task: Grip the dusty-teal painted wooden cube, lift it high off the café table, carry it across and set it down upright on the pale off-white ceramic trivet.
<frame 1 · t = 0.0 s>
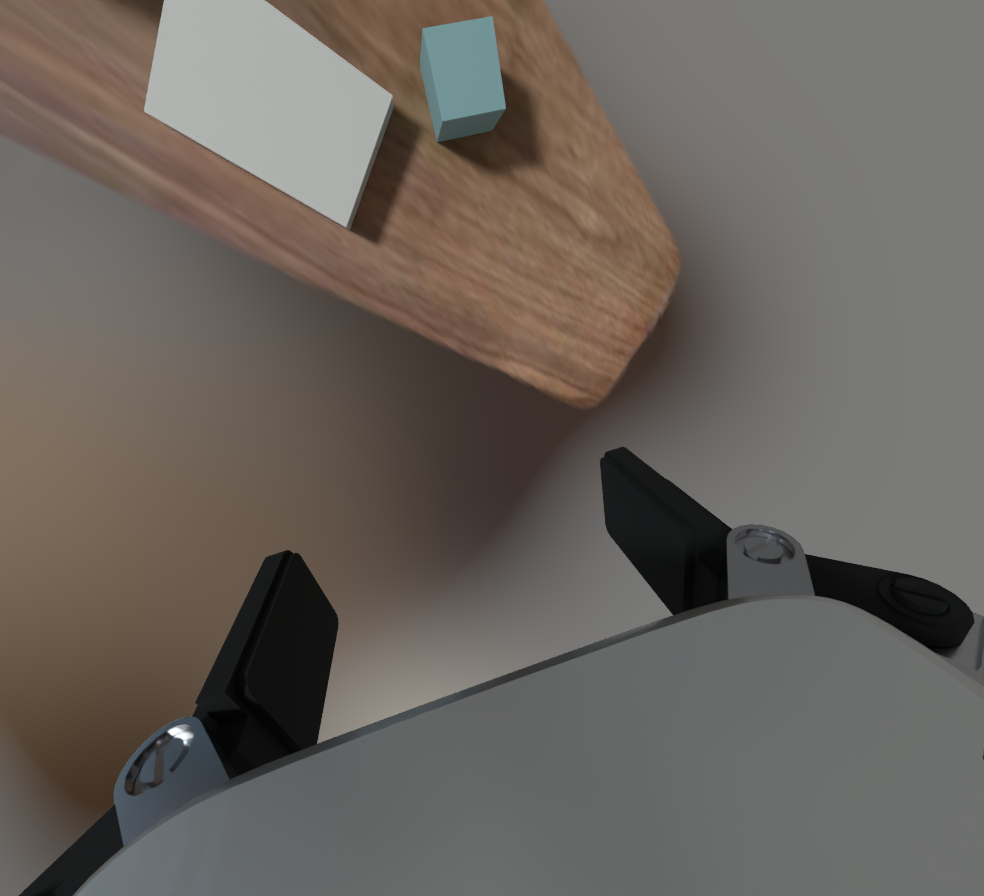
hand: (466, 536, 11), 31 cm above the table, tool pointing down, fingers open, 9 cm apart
teal cube: (457, 99, 31), on the table
trivet: (283, 116, 29), on the table
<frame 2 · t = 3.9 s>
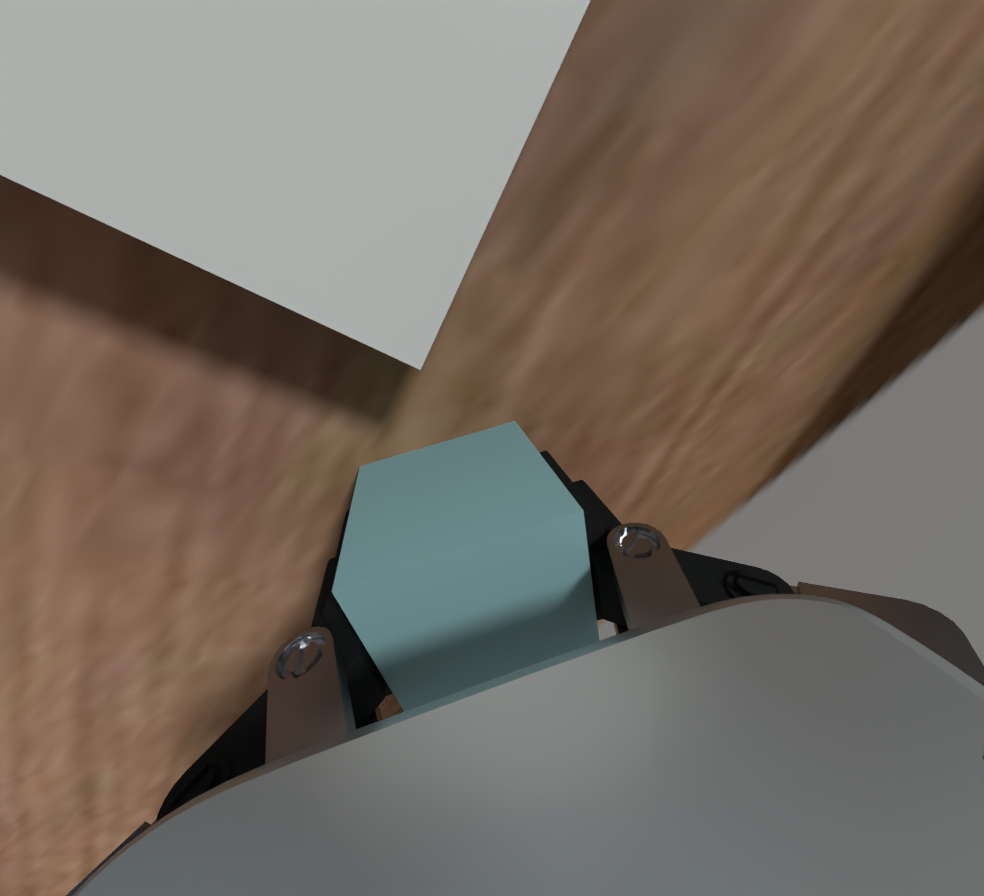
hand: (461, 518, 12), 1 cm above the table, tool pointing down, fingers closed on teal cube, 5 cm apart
teal cube: (459, 506, 13), on the table, touching gripper
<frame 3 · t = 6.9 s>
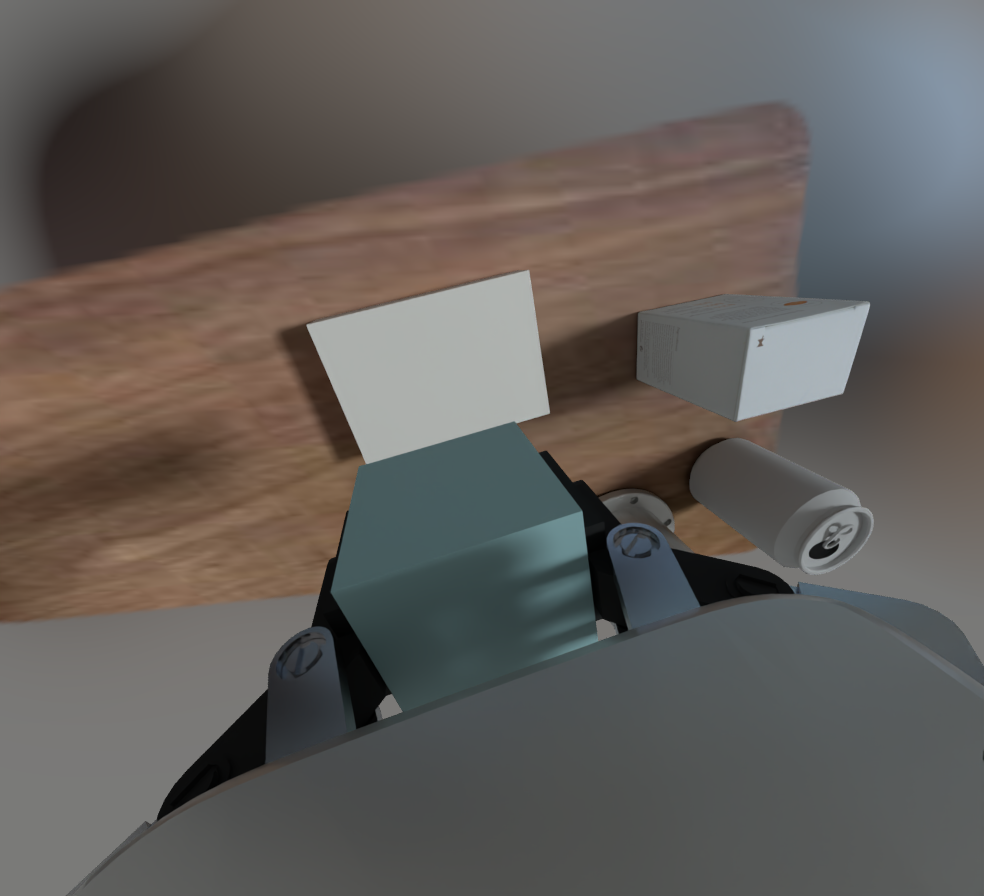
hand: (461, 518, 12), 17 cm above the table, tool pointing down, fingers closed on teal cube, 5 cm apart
teal cube: (458, 506, 13), point 17 cm above the table, touching gripper
small box: (677, 336, 30), on the table
can: (714, 467, 38), on the table
trivet: (439, 366, 27), on the table
when the fingers open (5 cm above the table, at t = 9.9 s): teal cube drops 1 cm, resting on trivet.
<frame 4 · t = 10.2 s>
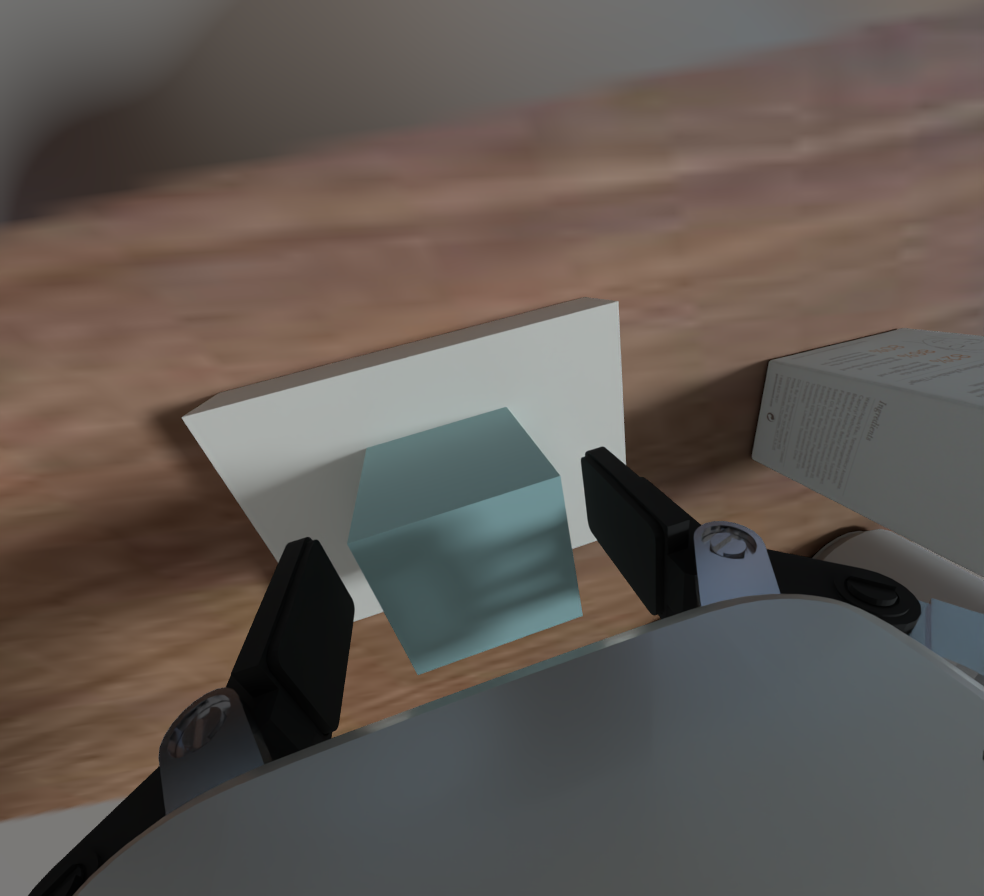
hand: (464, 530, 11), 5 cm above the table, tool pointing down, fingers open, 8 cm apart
teal cube: (456, 485, 14), point 2 cm above the table, touching trivet
small box: (817, 393, 19), on the table
can: (833, 562, 27), on the table
trivet: (446, 456, 16), on the table
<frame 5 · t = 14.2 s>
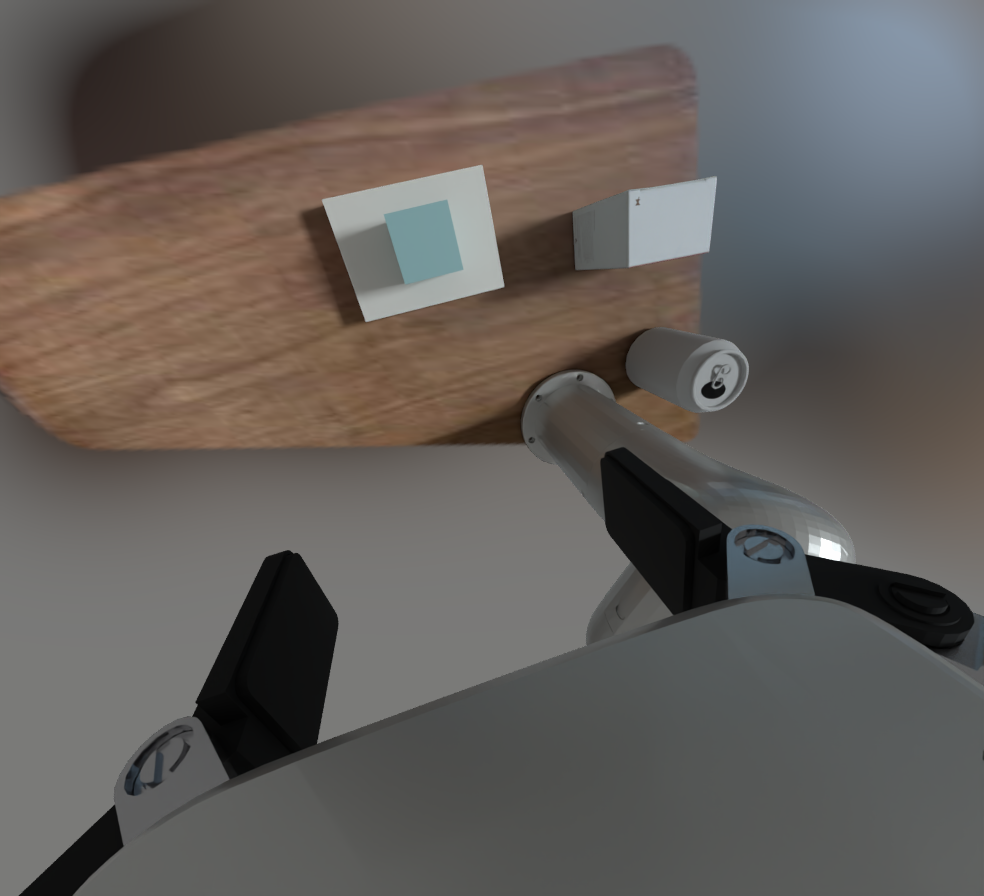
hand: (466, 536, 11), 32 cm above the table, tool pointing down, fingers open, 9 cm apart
teal cube: (422, 247, 34), point 2 cm above the table, touching trivet
small box: (606, 235, 39), on the table
can: (648, 356, 46), on the table
trivet: (420, 248, 36), on the table
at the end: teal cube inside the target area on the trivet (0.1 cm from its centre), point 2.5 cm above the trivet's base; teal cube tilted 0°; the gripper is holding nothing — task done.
